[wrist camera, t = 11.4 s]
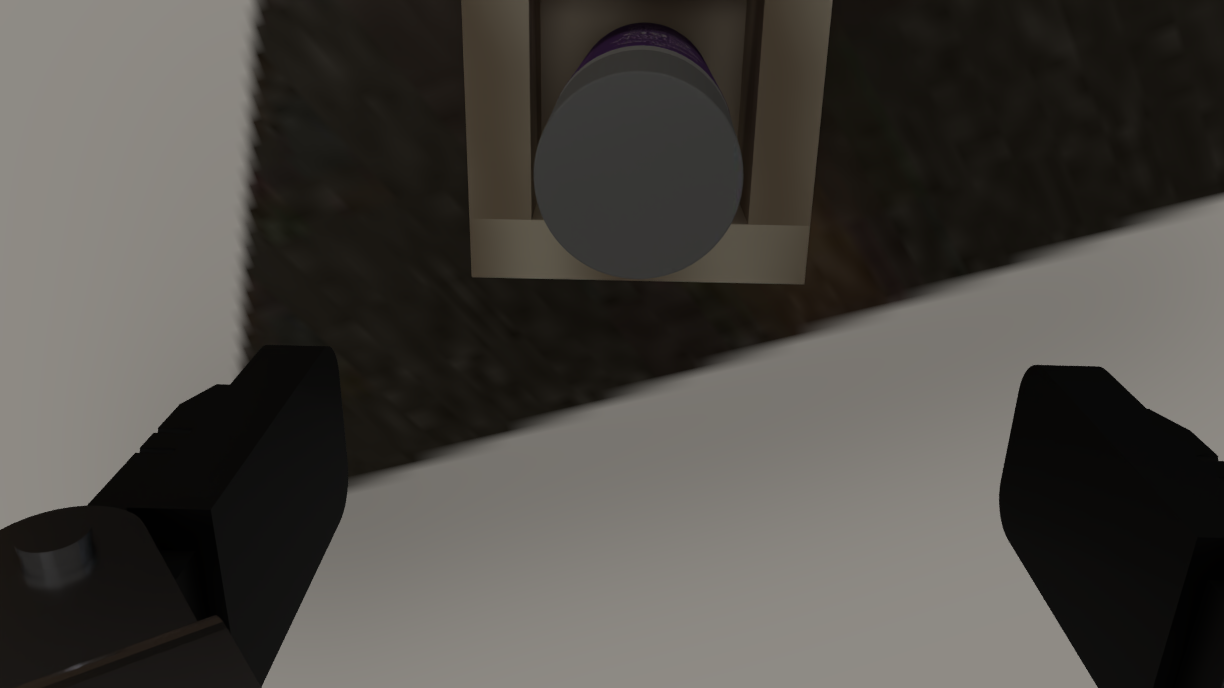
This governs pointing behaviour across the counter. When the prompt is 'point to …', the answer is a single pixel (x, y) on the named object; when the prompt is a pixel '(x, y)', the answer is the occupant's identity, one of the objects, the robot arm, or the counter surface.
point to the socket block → (746, 75)
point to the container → (639, 157)
